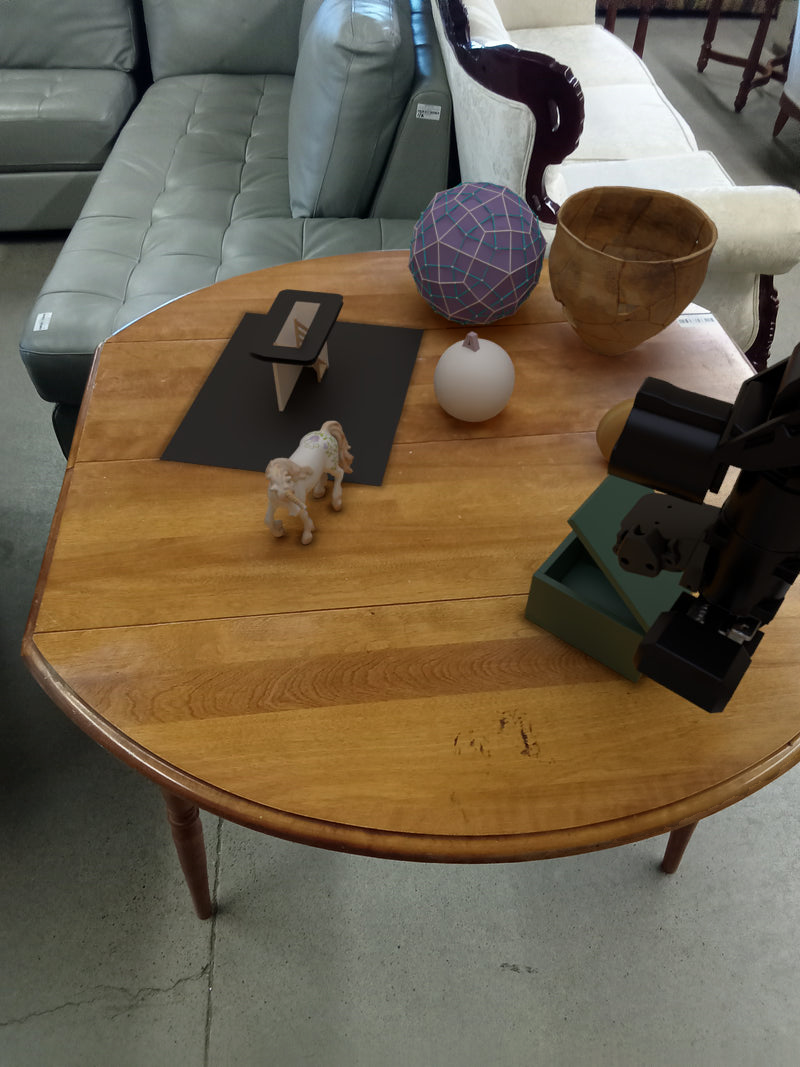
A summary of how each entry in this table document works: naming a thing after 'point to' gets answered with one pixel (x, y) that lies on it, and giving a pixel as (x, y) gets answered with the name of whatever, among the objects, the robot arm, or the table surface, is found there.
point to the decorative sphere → (476, 253)
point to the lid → (599, 535)
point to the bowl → (627, 263)
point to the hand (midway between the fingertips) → (698, 659)
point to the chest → (584, 608)
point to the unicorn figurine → (307, 476)
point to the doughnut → (612, 426)
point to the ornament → (474, 379)
